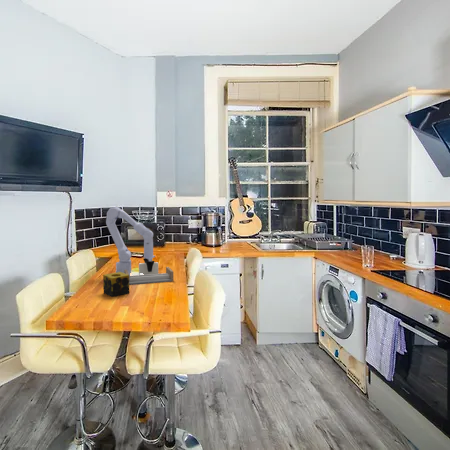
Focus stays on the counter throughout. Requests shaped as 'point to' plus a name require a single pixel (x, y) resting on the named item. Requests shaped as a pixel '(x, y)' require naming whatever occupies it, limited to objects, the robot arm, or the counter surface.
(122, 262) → the robot arm
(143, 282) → the cabinet base
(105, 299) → the counter surface
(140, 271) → the door panel
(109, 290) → the black and yellow cube
